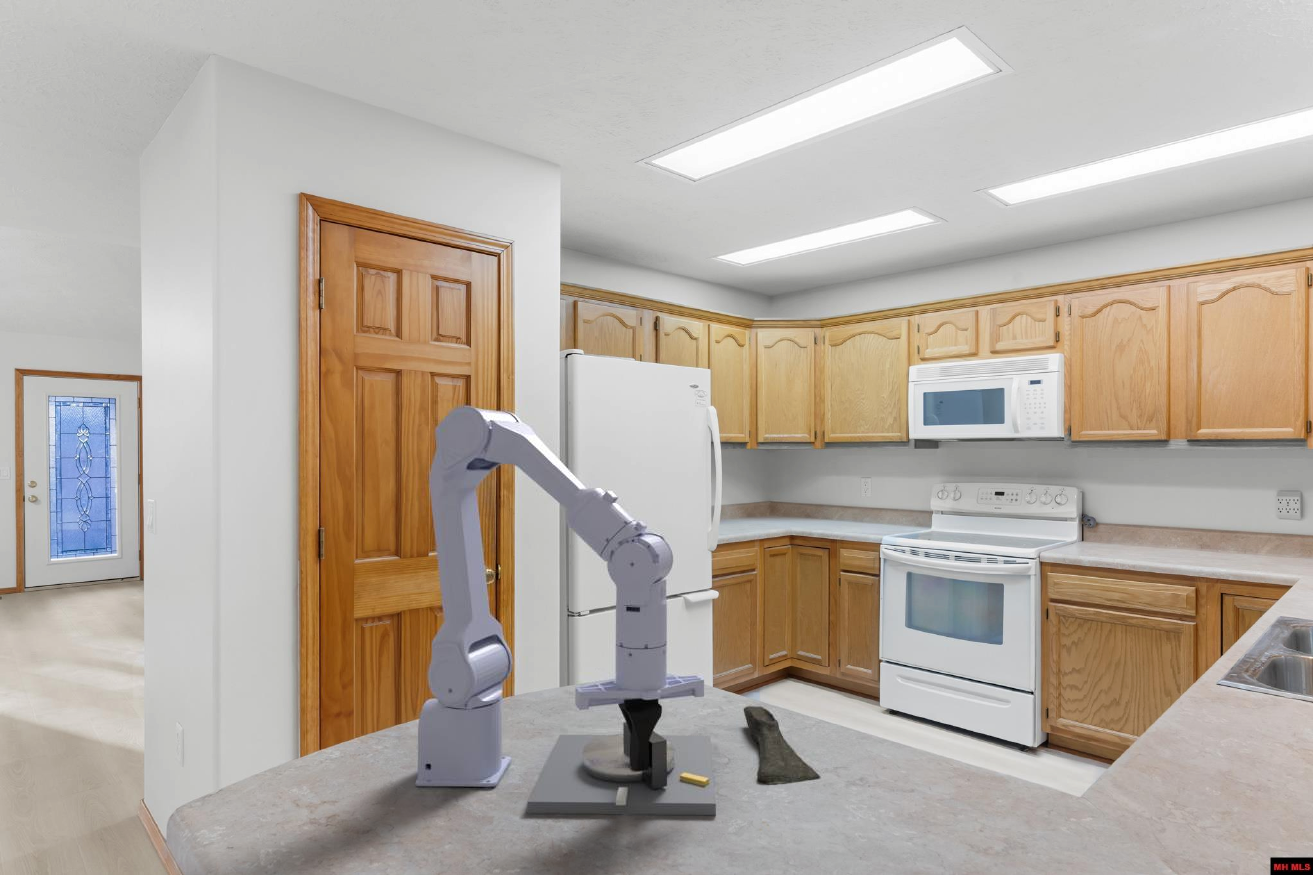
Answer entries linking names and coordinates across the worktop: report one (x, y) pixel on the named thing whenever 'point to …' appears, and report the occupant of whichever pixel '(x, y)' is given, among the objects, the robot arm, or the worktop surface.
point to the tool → (775, 750)
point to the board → (626, 783)
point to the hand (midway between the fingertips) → (640, 767)
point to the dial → (628, 759)
